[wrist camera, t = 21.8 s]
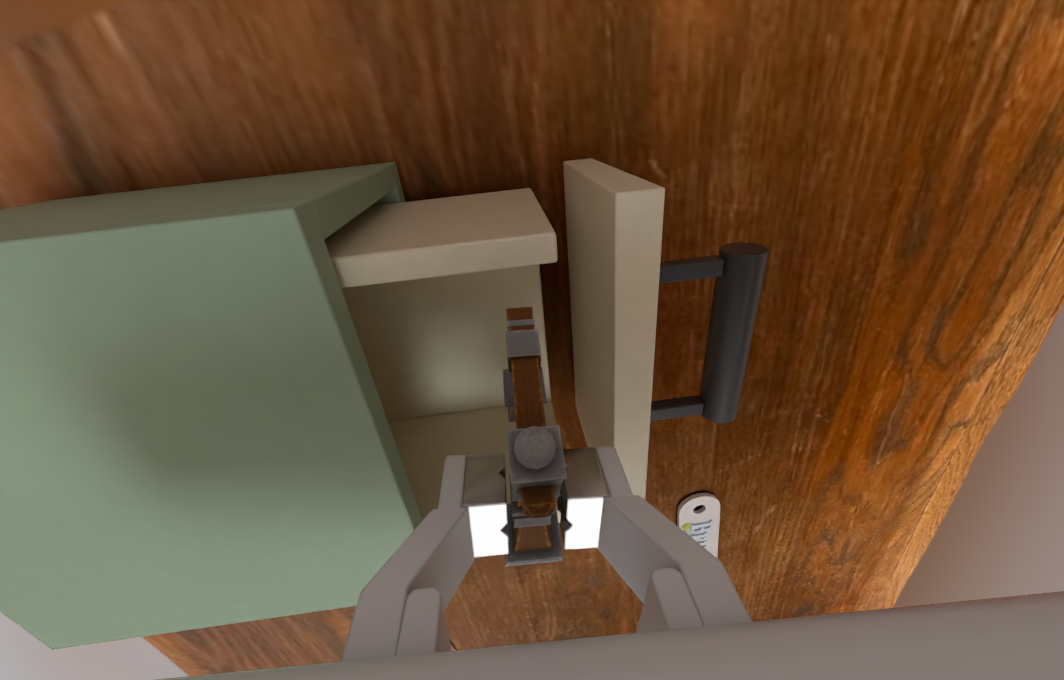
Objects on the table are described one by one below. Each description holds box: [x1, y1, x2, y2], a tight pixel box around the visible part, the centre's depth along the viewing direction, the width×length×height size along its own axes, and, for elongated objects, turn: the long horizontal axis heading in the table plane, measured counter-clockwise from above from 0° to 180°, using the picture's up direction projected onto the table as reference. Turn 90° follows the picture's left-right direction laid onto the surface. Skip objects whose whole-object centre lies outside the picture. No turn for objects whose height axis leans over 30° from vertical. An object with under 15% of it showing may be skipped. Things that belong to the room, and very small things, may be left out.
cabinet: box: [0, 162, 423, 649], centre depth 15 cm, size 14×14×10 cm
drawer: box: [324, 158, 769, 522], centre depth 16 cm, size 17×13×8 cm
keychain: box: [677, 493, 720, 558], centre depth 30 cm, size 10×1×3 cm
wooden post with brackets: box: [503, 307, 567, 567], centre depth 11 cm, size 2×8×4 cm, turn 2°
